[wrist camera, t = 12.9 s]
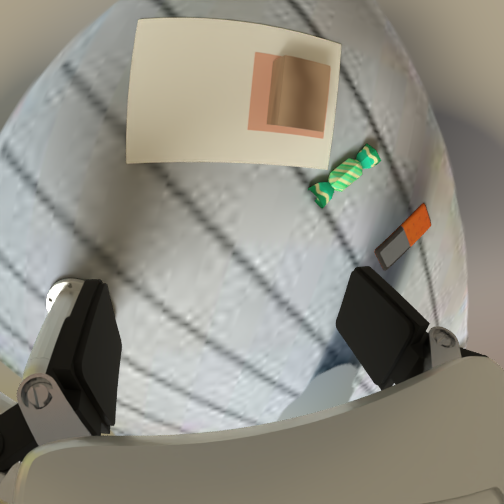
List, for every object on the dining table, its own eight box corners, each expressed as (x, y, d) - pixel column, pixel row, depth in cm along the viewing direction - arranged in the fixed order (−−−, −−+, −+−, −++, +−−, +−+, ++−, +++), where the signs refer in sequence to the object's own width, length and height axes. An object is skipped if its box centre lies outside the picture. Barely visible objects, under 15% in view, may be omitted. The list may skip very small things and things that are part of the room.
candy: (320, 209, 41) (324, 205, 37) (306, 192, 41) (309, 186, 37) (375, 165, 40) (383, 158, 35) (361, 149, 40) (368, 140, 36)
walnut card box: (314, 70, 31) (330, 65, 27) (307, 129, 35) (323, 132, 31) (273, 61, 29) (285, 54, 25) (266, 124, 33) (277, 125, 29)
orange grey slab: (432, 226, 49) (385, 272, 51) (428, 223, 50) (382, 269, 52) (426, 203, 46) (375, 252, 48) (421, 201, 47) (371, 249, 49)
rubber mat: (326, 169, 39) (327, 169, 38) (126, 163, 31) (126, 163, 31) (340, 44, 30) (341, 44, 29) (138, 20, 23) (138, 19, 22)
